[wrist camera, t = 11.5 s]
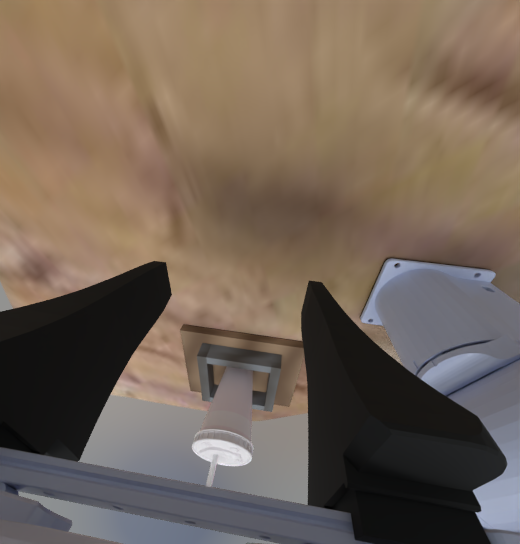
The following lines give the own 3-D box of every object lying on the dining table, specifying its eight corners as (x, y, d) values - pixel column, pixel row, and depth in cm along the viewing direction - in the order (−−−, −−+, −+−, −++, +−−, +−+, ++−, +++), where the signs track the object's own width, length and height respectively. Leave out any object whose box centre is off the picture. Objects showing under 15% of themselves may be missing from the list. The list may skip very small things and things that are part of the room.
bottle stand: (305, 342, 27) (307, 363, 25) (289, 400, 35) (289, 420, 32) (183, 324, 28) (172, 342, 26) (193, 384, 36) (185, 403, 33)
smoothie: (213, 352, 29) (161, 500, 17) (260, 354, 28) (239, 512, 16) (221, 380, 32) (182, 521, 20) (264, 383, 31) (248, 532, 20)
